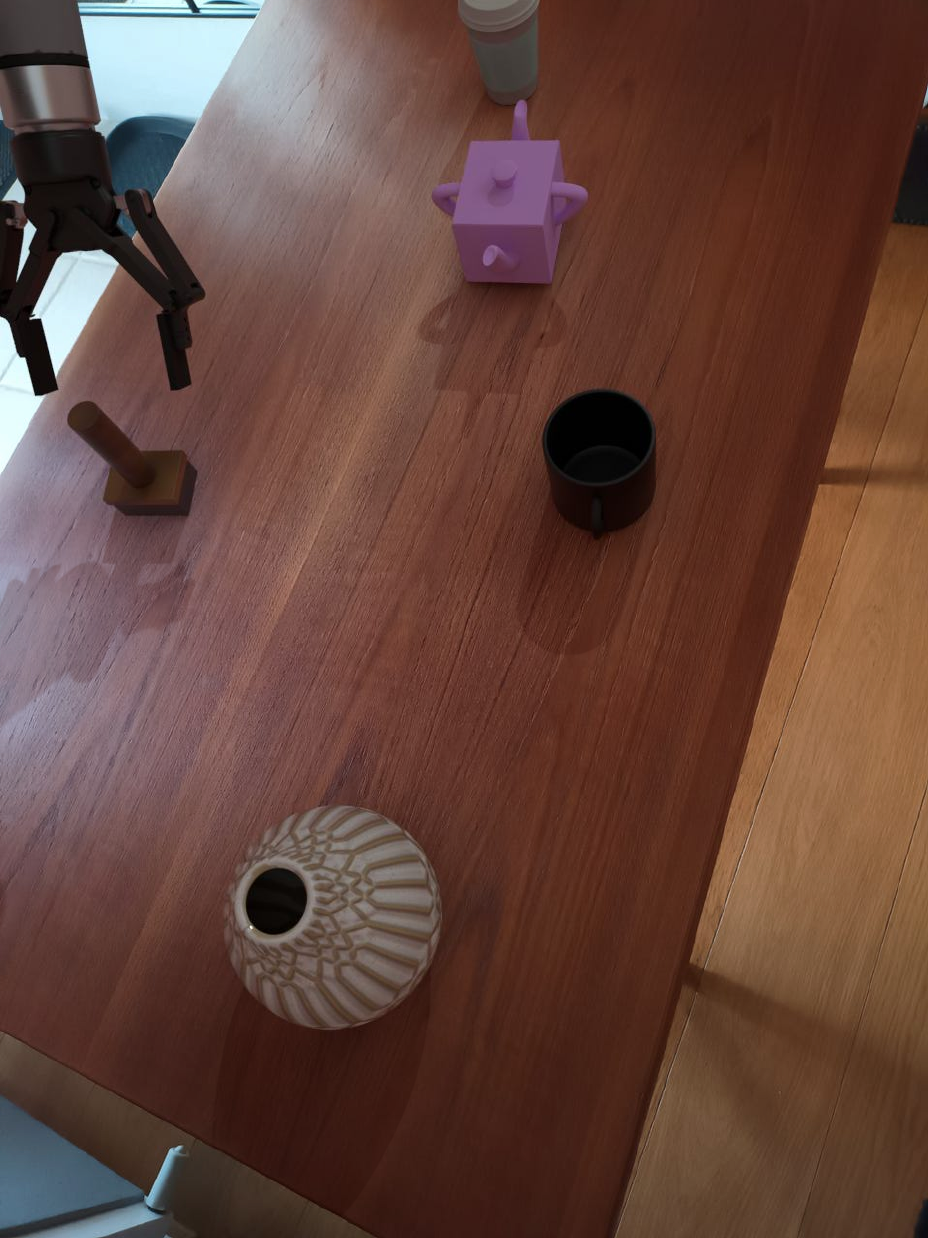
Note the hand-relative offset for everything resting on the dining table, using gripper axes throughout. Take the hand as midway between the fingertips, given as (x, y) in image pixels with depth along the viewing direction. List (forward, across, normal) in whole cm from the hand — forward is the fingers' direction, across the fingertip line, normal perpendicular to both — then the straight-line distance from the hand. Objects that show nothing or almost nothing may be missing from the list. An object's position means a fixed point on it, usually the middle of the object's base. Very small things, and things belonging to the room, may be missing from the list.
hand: (113, 390), depth 87 cm
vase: (+39, -26, +23) cm, 52 cm away
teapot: (-8, -35, -24) cm, 43 cm away
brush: (+11, 0, -5) cm, 12 cm away
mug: (+12, -44, -4) cm, 46 cm away
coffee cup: (-24, -32, -41) cm, 58 cm away
